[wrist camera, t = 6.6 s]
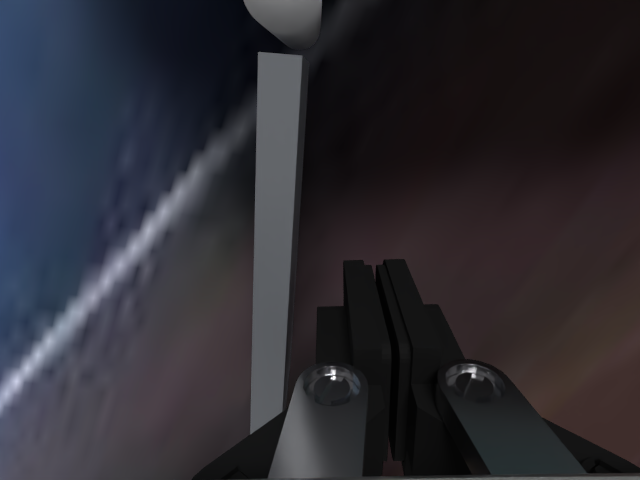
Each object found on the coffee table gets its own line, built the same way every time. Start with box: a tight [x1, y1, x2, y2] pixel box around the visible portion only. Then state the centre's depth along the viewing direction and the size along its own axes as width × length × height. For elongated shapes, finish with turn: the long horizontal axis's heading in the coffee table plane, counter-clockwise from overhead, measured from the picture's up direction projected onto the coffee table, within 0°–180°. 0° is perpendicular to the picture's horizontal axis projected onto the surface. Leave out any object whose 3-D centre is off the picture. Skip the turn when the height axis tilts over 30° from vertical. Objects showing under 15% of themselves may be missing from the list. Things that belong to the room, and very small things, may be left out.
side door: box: [244, 0, 322, 434], centre depth 11 cm, size 12×1×6 cm, turn 176°
